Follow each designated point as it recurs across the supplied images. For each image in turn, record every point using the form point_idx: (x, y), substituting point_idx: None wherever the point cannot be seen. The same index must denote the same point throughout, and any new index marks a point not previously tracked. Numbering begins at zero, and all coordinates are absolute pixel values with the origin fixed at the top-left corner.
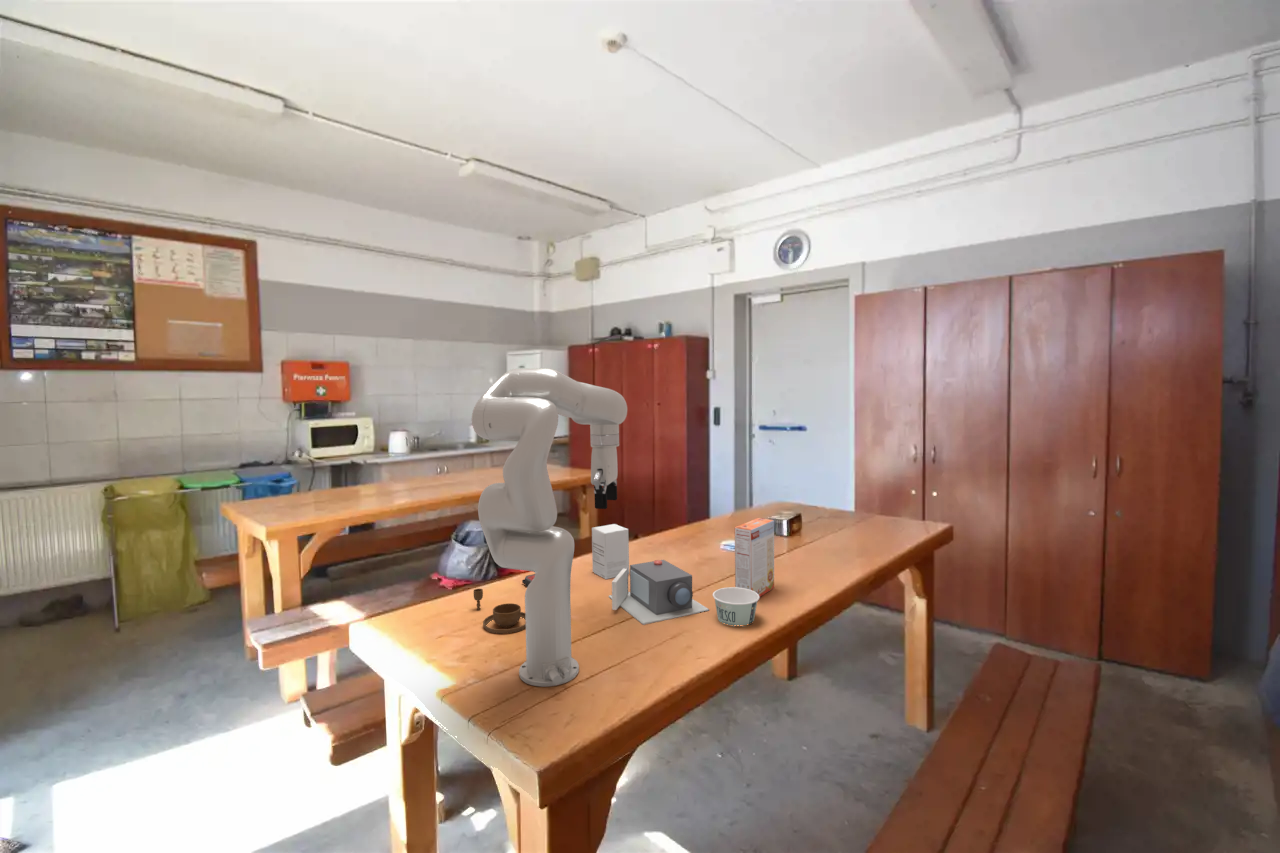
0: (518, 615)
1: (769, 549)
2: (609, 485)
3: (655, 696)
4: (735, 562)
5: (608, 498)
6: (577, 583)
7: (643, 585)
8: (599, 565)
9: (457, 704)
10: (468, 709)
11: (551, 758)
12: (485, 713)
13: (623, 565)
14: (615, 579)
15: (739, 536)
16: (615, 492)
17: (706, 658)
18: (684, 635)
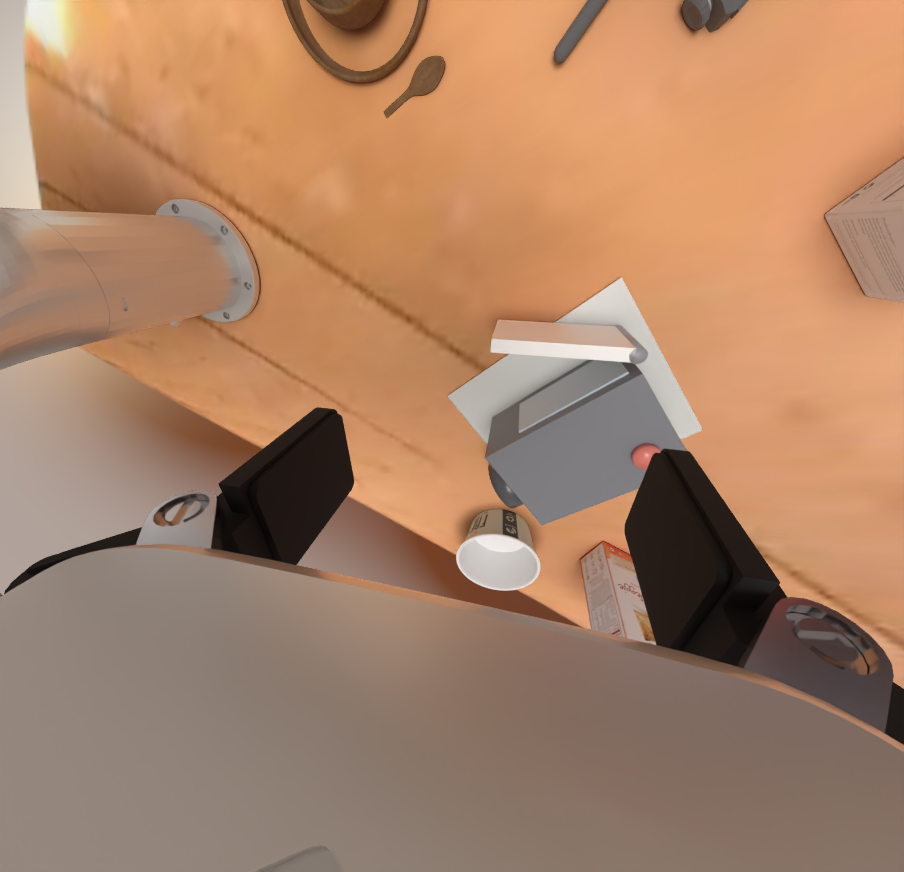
0: (339, 23)
1: None
2: (712, 623)
3: (244, 434)
4: (618, 605)
5: (650, 480)
6: (802, 87)
7: (542, 408)
8: None
9: (37, 125)
10: (47, 162)
11: (82, 345)
12: (64, 204)
13: (890, 282)
14: (514, 345)
15: None
16: (641, 587)
17: (358, 487)
18: (421, 462)
